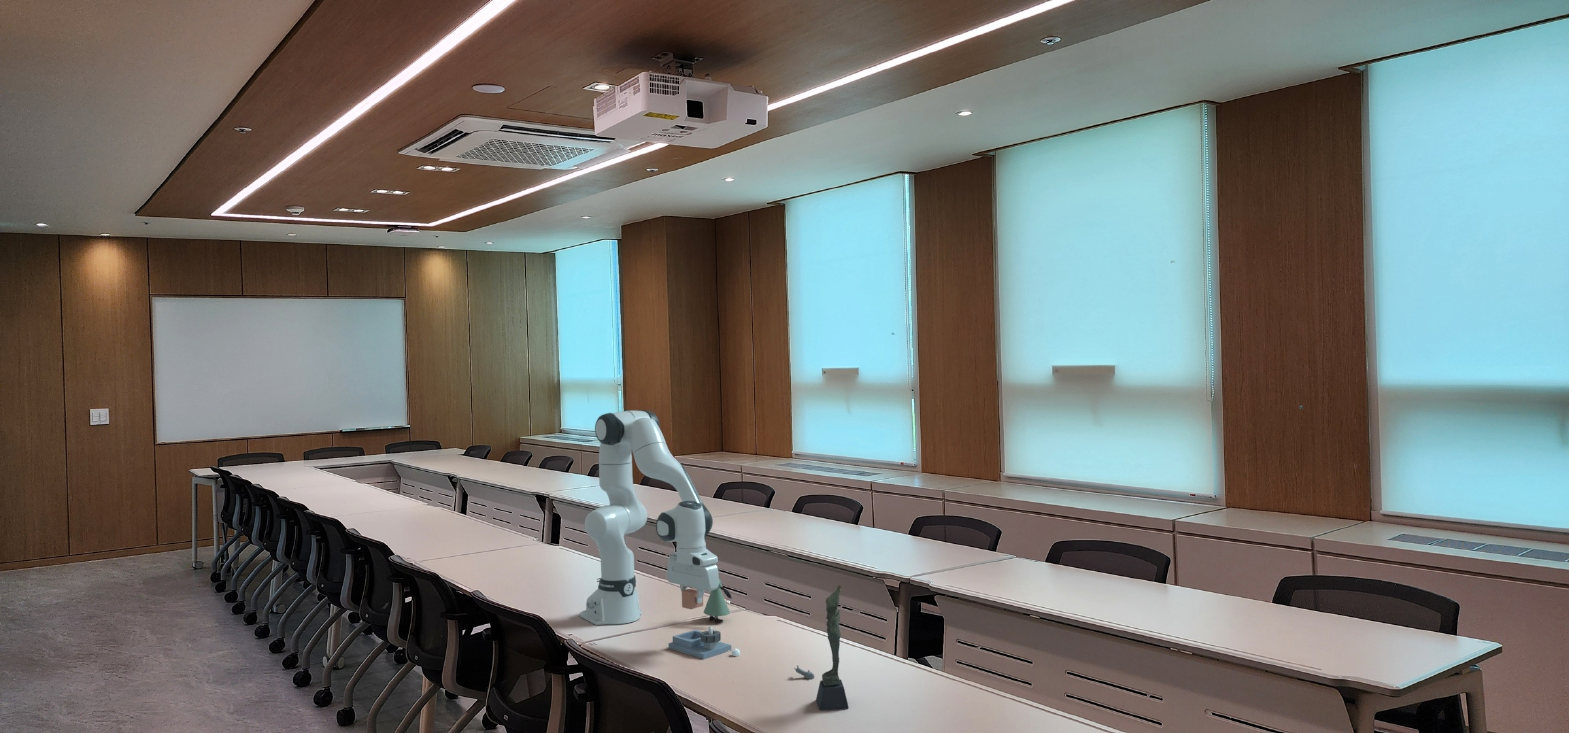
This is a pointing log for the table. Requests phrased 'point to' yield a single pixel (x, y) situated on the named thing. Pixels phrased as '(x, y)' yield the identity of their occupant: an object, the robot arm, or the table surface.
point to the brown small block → (690, 599)
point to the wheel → (710, 636)
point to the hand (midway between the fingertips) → (692, 601)
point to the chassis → (697, 645)
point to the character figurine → (717, 603)
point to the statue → (830, 685)
